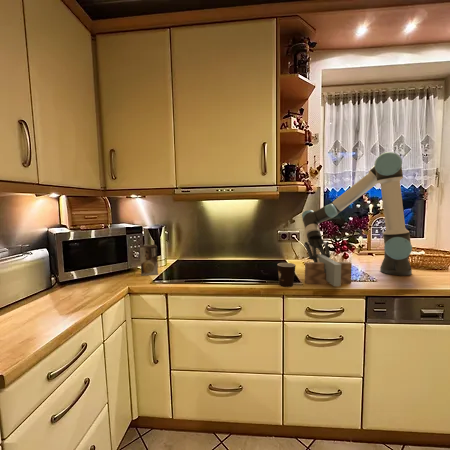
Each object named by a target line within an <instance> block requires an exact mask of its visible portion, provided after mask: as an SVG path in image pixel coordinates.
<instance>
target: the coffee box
mask: <svg viewBox="0 0 450 450" xmlns="http://www.w3.org/2000/svg"><path fill="white" fill-rule="evenodd" d="M139 254H140V255H139V256H140V257H139V258H140V273H141V274H140V276H141V277H145V276H154V275H158V274H159V270H158V269H159V268H158V246H157V244H144V245H143V244H142V245H141V244H140V245H139Z"/></svg>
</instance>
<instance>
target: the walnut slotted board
mask: <svg viewBox="0 0 450 450" xmlns="http://www.w3.org/2000/svg"><path fill="white" fill-rule="evenodd" d="M336 262H337V263H339V264H341V284H352V267H353V266H352V265H353V264H352V262H351V261H336ZM304 283H305V284H306V285H324V284H325V285H326V284H328V285H329V284H330V283H329V282H328V281H326V273H324V263H323V262H314V261H313V262H312V261H311V262H310V261H309V262H308V261H307V262H305V263H304ZM330 285H331V284H330Z"/></svg>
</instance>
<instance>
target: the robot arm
mask: <svg viewBox="0 0 450 450" xmlns="http://www.w3.org/2000/svg"><path fill="white" fill-rule="evenodd" d="M402 165H403V159H402V158H401V156H400V155H399V154H398V153H396V152H392V151H386V152H383V153H381V154H379V155H378V156H377V157H376V159H375V161H374V165H373V166H372V167H371V168H370V169H369V170H368V173H366V175H364V176H363V177H362V178H361V179H359V180H358V181H357V182H355V184H353V185H352V186H351V187H349V188H348V189H347V190H346V191H344V192H343V193H342V194H341V195H339V196H337V198H336V199H334V200H333V201H332V202H331V203H329V204H327V205H324V206H323V207H320V208H318V209H317V210H315V211H314V210H312V209H308V210H305V211H303V213H302V214H301V218H302V223H303V226H304V230H305V233H306V238H307V241H304V244H303V246H304V247H305V250H306V253H307V254H308V257H309V260H312V261H313V262H319V258H317V254H318V253H317V250H319V252H320V253H319V254H323V255H324V256H326V257H328V258H330V259H331V253H330V247H329V244H330V242H329V241H326V242H325V241H324V239H323V238H322V234H321V231H320V227H319V225H320V224H321V223H323V222H326V221H328V220H331V219H333V218H335V217H336V216H338V214H339V213H341V212H342V211H344V210H345V209H346V208H347V207H349V206H350V205H351V204H352V203H354V202H355V201H356V200H358V199H359V198H361V197H362V196H363V195H364V194H366V193H367V192H368V191H370V190H371V189H373V187H375V186H376V185H377V184H380V190H381V198H382V207H383V216H384V217H383V218H384V225H385V231H384V232H383V233H382V235H383V244H384V245H383V246H384V247H383V250H384V255H383V256H384V257H383V259H382V261H381V265H380V266H379V271H380V272H381V273H383V274H387V275H392V276H400V277H401V276H404V277H405V276H411V275H413V274H412V273H413V270H412V267H411V264H410V261H409V257H410V254H411V253H412V251H413V245H412V243H411V234H410V231H409V230H408V229H407V228H406V222H405V213H404V212H405V211H404V206H403V196H402V188H401V187H402V186H401V180H403V178H404V177H403V167H402Z"/></svg>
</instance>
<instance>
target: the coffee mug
mask: <svg viewBox="0 0 450 450" xmlns="http://www.w3.org/2000/svg"><path fill="white" fill-rule="evenodd" d="M295 271H296V264H295V263H291V262H279V263H277V273H278V283H279V286H280V287H284V288H291V287H294V280H295V273H296V272H295Z"/></svg>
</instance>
